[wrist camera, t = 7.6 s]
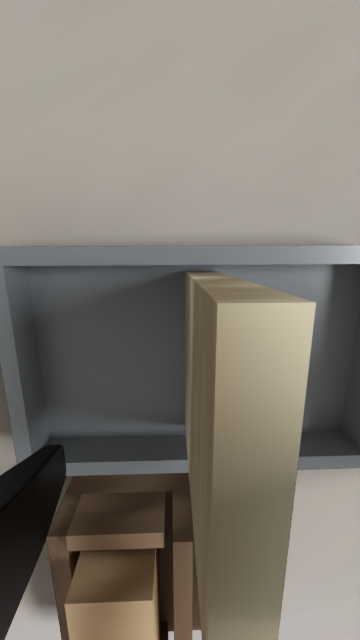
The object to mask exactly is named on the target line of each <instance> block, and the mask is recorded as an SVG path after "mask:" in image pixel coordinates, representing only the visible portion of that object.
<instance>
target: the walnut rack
mask: <svg viewBox="0 0 360 640" xmlns="http://www.w3.org/2000/svg"><path fill="white" fill-rule="evenodd" d="M46 539H47V546H48V552H49V559H50V565H51V572H52V579H53V585H54V592H55V599H56V605H57V612H58V618H59V625H60V632H61V638H62V640H69V633H68V626H67V619H66V612H65V605H64V604H65V601H66V597H67V594H68V591H69V588H70V585H71V581H72V578H73V575H74V572H75V568H76V565H77V562H78V559H79V555H80V552H81V551H90V550H118V549H146V548H159V577H160V611H161V622H160V640H168V631H174V640H192V630H201V620H200V607H199V595H198V582H197V570H196V557H195V544H194V532H193V519H192V507H191V494H190V481H189V473H160V474H124V475H88V476H73V478H72V480H71V483H70V485H69V487H68V489H67V492H66V494H65V496H64V498H63V500H62V503H61V505H60V507H59V509H58V512H57V514H56V516H55V518H54V520H53V523H52V525H51V527H50V529H49V532H48V535H47V538H46Z"/></svg>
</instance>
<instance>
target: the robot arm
mask: <svg viewBox="0 0 360 640" xmlns="http://www.w3.org/2000/svg"><path fill="white" fill-rule="evenodd" d="M65 478H66V462H65V453H64V447H63V445H61V444H47V445H45V446H43V447H42V448H40V449H39V450H37V451H36V452H35V453H33V454H32V455H30V456H29V457H27V458H26V459H24V460H23V461H21V462H20V463H18V464H17V465H15V466H14V467H12V468H11V469H9V470H8V471H6V472H5V473H4V474H2V475H1V476H0V640H4V639H5V637H6V635H7V632H8V630H9V627H10V625H11V623H12V620H13V618H14V615H15V613H16V611H17V608H18V606H19V604H20V601H21V599H22V596H23V594H24V592H25V589H26V587H27V585H28V582H29V580H30V577H31V575H32V573H33V570H34V568H35V565H36V563H37V561H38V558H39V556H40V553H41V551H42V548H43V546H44V543H45V541H46V538H47V535H48V532H49V529H50V525H51V522H52V519H53V516H54V513H55V510H56V507H57V503H58V500H59V497H60V494H61V491H62V488H63V484H64V481H65Z"/></svg>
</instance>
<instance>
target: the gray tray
mask: <svg viewBox="0 0 360 640" xmlns="http://www.w3.org/2000/svg"><path fill="white" fill-rule="evenodd" d="M185 271H217V272H220V273H223V274H226V275H230V276H233V277H236V278H239V279H243V280H246V281H249V282H252V283H255V284H259V285H262V286H265V287H268V288H271V289H275V290H278V291H281V292H284V293H287V294H291V295H294V296H297V297H300V298H303V299H307V300H310V301H313V302H316V309H315V318H314V326H313V335H312V344H311V353H310V362H309V370H308V379H307V388H306V397H305V406H304V414H303V423H302V432H301V441H300V450H299V459H298V467H297V470H304V469H340V468H360V245H329V246H61V247H0V364H1V370H2V376H3V382H4V388H5V394H6V400H7V406H8V412H9V418H10V424H11V429H12V435H13V441H14V447H15V453H16V459H17V464H18V463H20V462H21V461H23V460H24V459H26V458H27V457H29V456H30V455H32V454H33V453H35V452H36V451H37V450H39V449H40V448H42V447H43V446H45V445H47V444H61V445H63V447H64V453H65V462H66V476H88V475H124V474H160V473H189V469H188V456H187V444H186V431H185Z"/></svg>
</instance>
